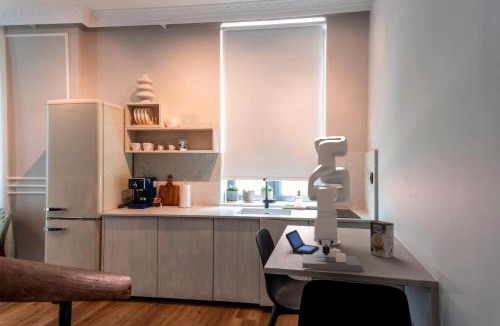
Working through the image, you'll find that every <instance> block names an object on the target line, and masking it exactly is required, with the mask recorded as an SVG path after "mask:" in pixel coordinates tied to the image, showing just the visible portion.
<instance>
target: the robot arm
mask: <svg viewBox="0 0 500 326" xmlns="http://www.w3.org/2000/svg"><path fill="white" fill-rule="evenodd" d="M313 145H314V148H315V152H316V154H317V167H316V168H315V169H314V170H313V171H312V172H311V174H310V176H309V177H308V182H307V198H308V200H309V201H311V202H316V210H317V211H316V216H315V218H314V229H313V231H314V232H313V235H314V238H313V242H316V243H318V244H319V245H321V246H322V254H323V255H324V256H326V255H327V256H328V255H329V254H330V247H331V246H338V245H340V244H341V242H340V240H339V239H338V212H337V210H336V208H335V205H347V204H349V203H350V201H351V184H350V181H351V180H350V172H349V170H348V168H345V167H336V158H343V157H345V158H346V156H347V155H348V151H349V148H348V140H347V138H346V137H344V136H323V137H317V138H316V139H315V140H314V144H313ZM318 179H320V182H321V183H322V184H323V185H318V184H317V185H315V182H316V181H317V180H318ZM335 185H339V186H338V187H337V186H335Z"/></svg>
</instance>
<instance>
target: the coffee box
mask: <svg viewBox="0 0 500 326" xmlns="http://www.w3.org/2000/svg"><path fill="white" fill-rule="evenodd" d="M369 223H370V230H369V231H370V234H369V235H370V255H375V256H378V257H381V258H385V259H388V258H391V257H394V256H395V255H394V251H395V249H394V245H395V244H394V241H395V239H394V233H395V232H394V227H395V226H394V225H395V224H394V222H388V221H383V220H373V221H372V220H371V221H370V222H369Z"/></svg>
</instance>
